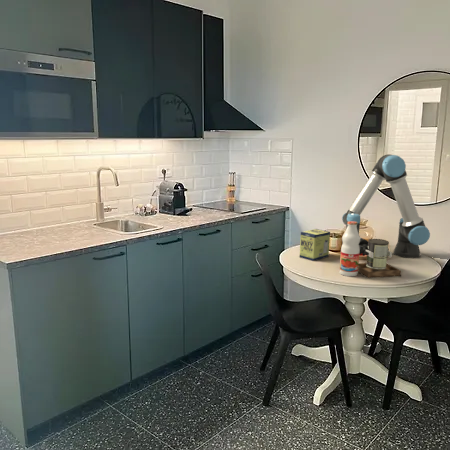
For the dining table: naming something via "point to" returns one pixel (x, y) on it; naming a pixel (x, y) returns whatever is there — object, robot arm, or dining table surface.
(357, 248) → the fruit juice
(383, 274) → the tray
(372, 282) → the dining table surface
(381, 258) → the coffee can
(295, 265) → the dining table surface
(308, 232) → the protein box
